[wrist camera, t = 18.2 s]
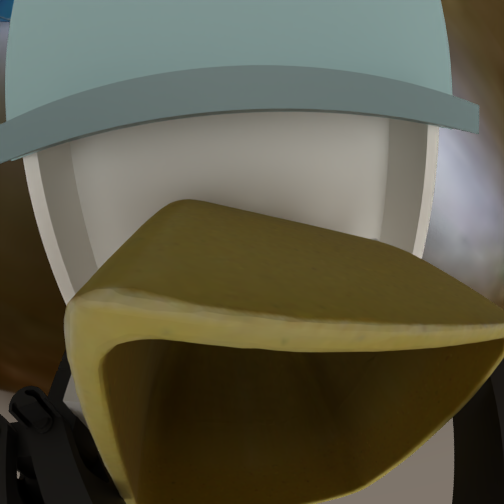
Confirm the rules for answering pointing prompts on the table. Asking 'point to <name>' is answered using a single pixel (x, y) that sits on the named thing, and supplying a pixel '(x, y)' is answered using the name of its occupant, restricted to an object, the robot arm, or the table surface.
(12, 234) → the table surface
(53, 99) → the lid
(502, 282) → the table surface
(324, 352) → the flower pot
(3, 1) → the ink box
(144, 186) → the white square tray
